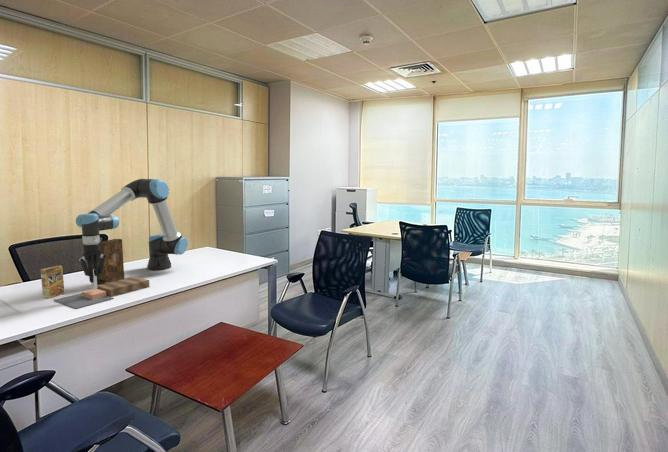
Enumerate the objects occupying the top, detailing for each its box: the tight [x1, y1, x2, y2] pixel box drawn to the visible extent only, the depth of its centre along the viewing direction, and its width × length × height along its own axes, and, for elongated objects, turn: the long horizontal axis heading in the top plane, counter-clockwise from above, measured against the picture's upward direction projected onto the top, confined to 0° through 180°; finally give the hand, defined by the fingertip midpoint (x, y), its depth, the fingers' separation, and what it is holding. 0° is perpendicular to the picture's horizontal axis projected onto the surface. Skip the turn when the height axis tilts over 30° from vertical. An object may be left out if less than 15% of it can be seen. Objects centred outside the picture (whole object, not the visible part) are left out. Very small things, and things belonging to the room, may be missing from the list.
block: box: [81, 288, 107, 300], centre depth 204 cm, size 7×10×2 cm
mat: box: [53, 292, 114, 310], centre depth 200 cm, size 18×22×1 cm
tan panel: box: [96, 276, 151, 298], centre depth 218 cm, size 22×14×4 cm, turn 149°
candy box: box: [40, 265, 66, 299], centre depth 205 cm, size 9×4×15 cm, turn 159°
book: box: [97, 238, 125, 285], centre depth 229 cm, size 16×6×25 cm, turn 168°
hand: (94, 287), depth 204 cm, fingers closed
